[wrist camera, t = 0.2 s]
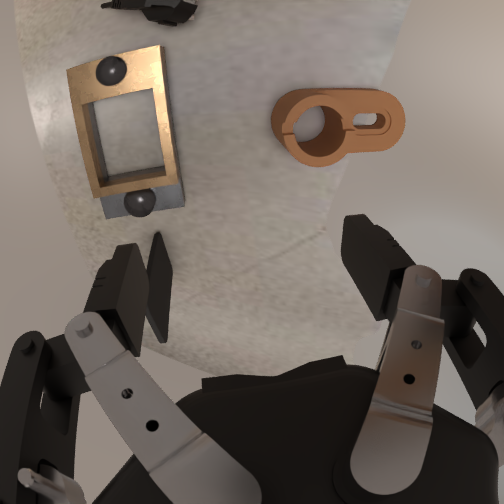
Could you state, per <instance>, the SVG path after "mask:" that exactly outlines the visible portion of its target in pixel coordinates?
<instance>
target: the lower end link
mask: <svg viewBox="0 0 504 504" xmlns="http://www.w3.org/2000/svg"><path fill="white" fill-rule="evenodd" d="M165 80H166V88H167V96H168V104H169V112H170V119H171V126H172V133H173V140H174V146H175V153H176V159H177V166H178V172H179V183H178V184H173V185H166V186H160V187H154V188H148V189H142V190H136V191H131V192H125V193H120V194H114V195H109V196H104V197H100V200H101V203H102V207H103V210H104V214H105V217H106V219H110V218H116V217H122V216H127V215H132V216H135V217H145V216H147V215H149V214H150V213H151V212H152V211H159V210H165V209H172V208H179V207H185V196H184V190H183V184H182V178H181V172H180V166H179V159H178V153H177V146H176V140H175V133H174V126H173V118H172V111H171V103H170V96H169V88H168V79H167V74H166V75H165ZM88 109H89V115H90V120H91V125H92V130H93V135H94V140H95V144H96V149H97V153H98V158H99V162H100V166H101V170H102V175H103V179H104V182H106V181H111V180H116V179H121V178H126V177H132V176H137V175H143V174H148V173H154V172H160V171H166V169H165V166H161V167H156V168H150V169H144V170H139V171H133V172H128V173H123V174H118V175H113V176H108V172H107V168H106V164H105V160H104V155H103V151H102V146H101V141H100V137H99V132H98V127H97V121H96V116H95V111H94V105H93V102H90V103H88Z"/></svg>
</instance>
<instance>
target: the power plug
mask: <svg viewBox="0 0 504 504" xmlns="http://www.w3.org/2000/svg"><path fill="white" fill-rule="evenodd" d="M195 1H198V0H112V2H108V3H103V4H102V5H101V8H107V7H111V8H114V9H127V10H136V9H139V10H141V11H142V12H143V13H144V15H145V17H146V18H147V19H148V20H149V21H154V22H158V24H162V25H167V26H177V23H185V22H186V21H187V20H194V18H195V17H194V15H193V14H194V12H195V10H196V8H197V5H194V4H195Z"/></svg>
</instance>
